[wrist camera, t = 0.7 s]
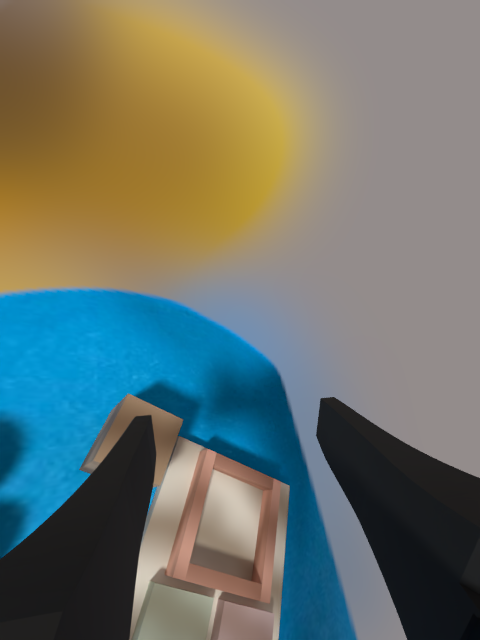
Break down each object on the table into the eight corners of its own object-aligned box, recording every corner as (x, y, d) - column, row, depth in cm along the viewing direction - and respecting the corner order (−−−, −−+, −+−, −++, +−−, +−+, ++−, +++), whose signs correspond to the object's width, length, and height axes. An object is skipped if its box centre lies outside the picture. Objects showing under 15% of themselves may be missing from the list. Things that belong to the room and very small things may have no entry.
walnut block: (137, 490, 24) (160, 485, 20) (79, 469, 22) (93, 460, 19) (160, 432, 27) (183, 419, 24) (111, 410, 26) (128, 393, 22)
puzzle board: (264, 703, 22) (286, 719, 20) (88, 681, 17) (97, 698, 16) (283, 486, 32) (299, 484, 30) (174, 438, 27) (186, 432, 26)
